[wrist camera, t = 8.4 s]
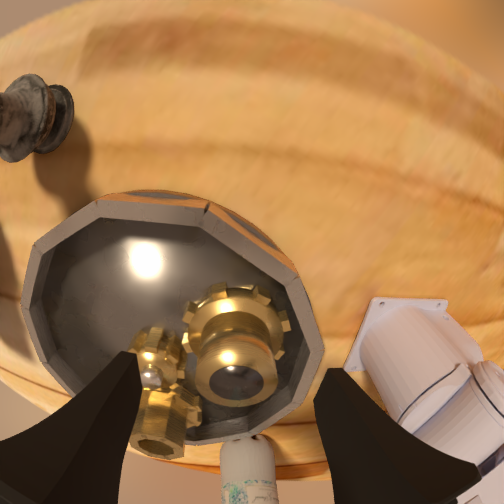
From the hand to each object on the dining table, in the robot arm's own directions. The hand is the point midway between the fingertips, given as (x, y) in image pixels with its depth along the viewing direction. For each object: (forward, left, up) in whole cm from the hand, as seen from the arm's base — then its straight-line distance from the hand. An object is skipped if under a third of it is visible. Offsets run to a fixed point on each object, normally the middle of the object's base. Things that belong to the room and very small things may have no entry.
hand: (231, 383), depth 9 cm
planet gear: (+5, +14, -9) cm, 17 cm away
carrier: (+5, +7, -10) cm, 13 cm away
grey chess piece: (+15, -10, -10) cm, 21 cm away
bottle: (-4, +23, -10) cm, 25 cm away
